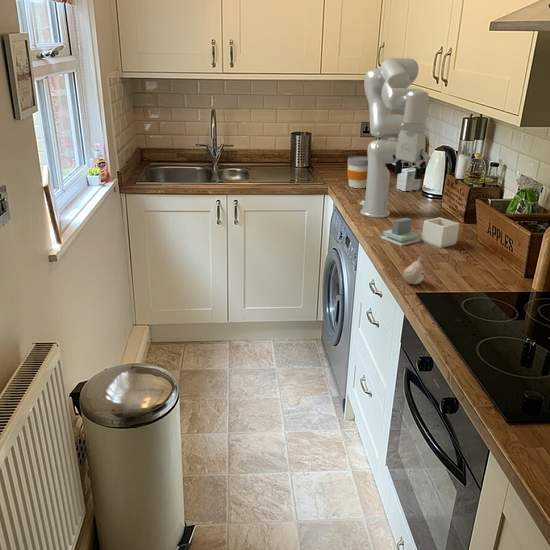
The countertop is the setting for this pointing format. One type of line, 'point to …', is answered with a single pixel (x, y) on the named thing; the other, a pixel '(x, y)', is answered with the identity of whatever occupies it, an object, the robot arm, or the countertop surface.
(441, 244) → the tub
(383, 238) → the mat
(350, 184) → the reusable coffee cup
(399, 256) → the countertop surface
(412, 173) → the light bulb box
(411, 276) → the garlic bulb
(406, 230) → the lid
